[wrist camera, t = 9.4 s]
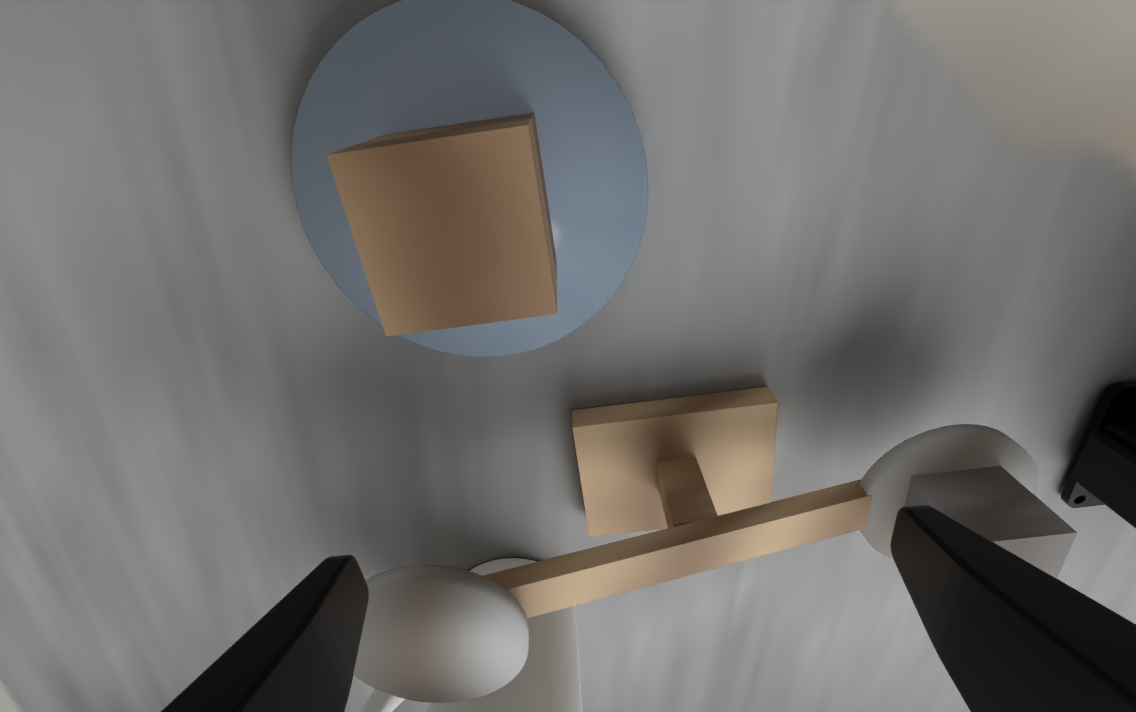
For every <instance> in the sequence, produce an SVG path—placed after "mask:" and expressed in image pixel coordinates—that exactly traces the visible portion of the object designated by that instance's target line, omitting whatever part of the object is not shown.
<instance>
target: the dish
mask: <svg viewBox="0 0 1136 712" xmlns="http://www.w3.org/2000/svg"><path fill="white" fill-rule="evenodd" d="M533 112H535V119H536V125H537V132H538V139H539V146H540V152H541V159H542V166H543V172H544V179H545V186H546V193H547V199H548V206H549V213H550V219H551V226H552V233H553V240H554V246H555V253H556V260H557V314H554V315H546V316H539V317H531V318H524V319H516V320H508V321H501V322H493V323H486V324H478V325H471V326H463V327H456V328H448V329H441V330H433V331H426V332H418V333H411V334H403V335H399V336H401V337H403V338H405V339H406V340H409V341H411V342H414V343H416V344H419V345H421V346H424V347H426V348H430V349H433V350H437V351H441V352H444V353H449V354H455V355H461V356H471V357H496V356H508V355H513V354H518V353H524V352H527V351H530V350H534V349H537V348H540V347H543V346H546V345H548V344H550V343H552V342H554V341H557V340H559V339H561V338H563V337H564V336H566V335H568V334H569V333H571V332H573V331H574V330H576V329H578V328H579V327H580V326H581V325H583V324H584V323H585V322H586V321H588V320H589V319H590V318H592V317H593V316H594V315H595V314H596V313H597V312H598V311H599V310H600V309H601V308H602V307H603V306H604V305H605V304H606V303H607V302H608V300H609V299H610V298H611V296H612V295H613V294H614V292H615V291H616V290H617V288H618V287H619V286H620V284H621V283H622V281H623V279H624V277H625V276H626V274H627V272H628V270H629V269H630V267H631V265H632V262H633V260H634V257H635V255H636V253H637V250H638V248H639V245H640V241H641V237H642V233H643V230H644V226H645V220H646V212H647V205H648V174H647V166H646V157H645V152H644V148H643V144H642V140H641V136H640V132H639V129H638V126H637V124H636V121H635V119H634V116H633V114H632V111H631V108H630V106H629V104H628V102H627V101H626V99H625V97H624V95H623V93H622V91H621V90H620V88H619V86H618V84H617V83H616V81H615V80H614V78H613V77H612V76H611V74H610V73H609V72H608V70H607V69H606V68H605V66H604V65H603V64H602V62H601V61H600V60H599V59H598V58H597V57H596V56H595V55H594V54H593V53H592V52H591V51H590V50H589V48H588V47H587V46H586V45H585V44H584V43H583V42H582V41H581V40H579V39H578V38H577V37H575V36H574V35H573V34H572V33H570V32H569V31H568V30H567V29H565V28H564V27H563V26H561V25H560V24H559V23H557V22H555V21H553V20H552V19H550V18H548V17H546V16H545V15H543V14H541V13H540V12H538V11H536V10H534V9H531V8H529V7H526V6H524V5H521V4H519V3H516V2H514V1H511V0H401V1H399V2H396V3H394V4H391V5H389V6H387V7H384V8H382V9H380V10H378V11H376V12H375V13H373V14H371V15H370V16H368V17H367V18H365V19H363V20H362V21H360V22H359V23H357V24H356V25H355V26H354V27H353V28H351V29H350V30H349V31H348V32H347V33H346V34H345V35H343V36H342V37H341V38H340V39H339V40H338V41H337V42H336V43H335V44H334V46H333V47H332V48H331V49H330V51H329V52H328V53H327V54H326V56H325V57H324V58H323V59H322V60H321V62H320V64H319V65H318V67H317V69H316V71H315V72H314V74H313V76H312V77H311V79H310V81H309V83H308V85H307V88H306V90H305V93H304V95H303V98H302V100H301V103H300V105H299V109H298V113H297V118H296V122H295V126H294V131H293V141H292V152H291V161H292V181H293V187H294V193H295V199H296V204H297V207H298V211H299V214H300V217H301V221H302V224H303V227H304V229H305V232H306V234H307V236H308V238H309V241H310V243H311V245H312V248H313V249H314V251H315V253H316V255H317V256H318V258H319V260H320V261H321V263H322V265H323V267H324V268H325V270H326V271H327V272H328V274H329V275H330V276H331V278H332V279H333V280H334V282H335V283H336V284H337V286H338V287H339V288H340V289H341V290H342V291H343V292H344V293H345V294H346V296H347V297H348V298H349V299H350V300H351V301H352V302H353V303H354V304H355V305H356V306H358V307H359V308H360V309H361V310H362V311H363V312H364V313H366V314H367V315H368V316H369V317H370V318H372V319H373V320H375V321H376V322H378V323H379V324H381V325H382V323H381V320H380V317H379V314H378V311H377V308H376V305H375V302H374V298H373V295H372V292H371V289H370V286H369V283H368V280H367V277H366V274H365V271H364V268H363V265H362V262H361V259H360V256H359V253H358V250H357V247H356V244H355V241H354V238H353V235H352V232H351V229H350V226H349V223H348V219H347V216H346V213H345V210H344V207H343V204H342V201H341V198H340V195H339V192H338V189H337V186H336V183H335V180H334V177H333V174H332V171H331V168H330V165H329V162H328V159H327V156H326V155H327V154H330V153H333V152H336V151H339V150H342V149H344V148H347V147H350V146H353V145H356V144H359V143H362V142H364V141H367V140H370V139H373V138H376V137H379V136H382V135H385V134H392V133H399V132H405V131H412V130H419V129H426V128H432V127H439V126H446V125H452V124H459V123H466V122H473V121H479V120H486V119H493V118H499V117H506V116H513V115H520V114H526V113H533Z"/></svg>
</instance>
